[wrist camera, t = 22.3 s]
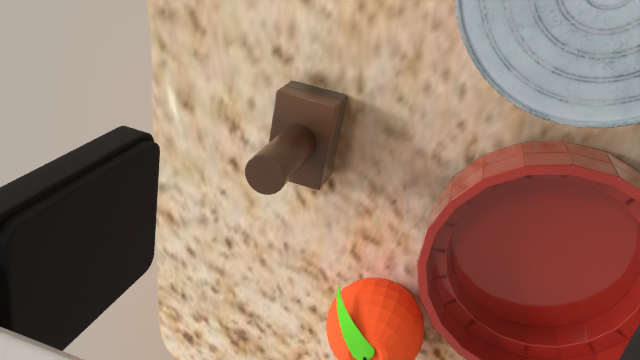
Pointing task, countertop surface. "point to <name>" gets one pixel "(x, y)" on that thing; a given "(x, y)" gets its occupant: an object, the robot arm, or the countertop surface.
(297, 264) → the countertop surface
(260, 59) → the countertop surface
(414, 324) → the clementine
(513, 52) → the canned food
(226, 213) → the countertop surface
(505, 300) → the bowl
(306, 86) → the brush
